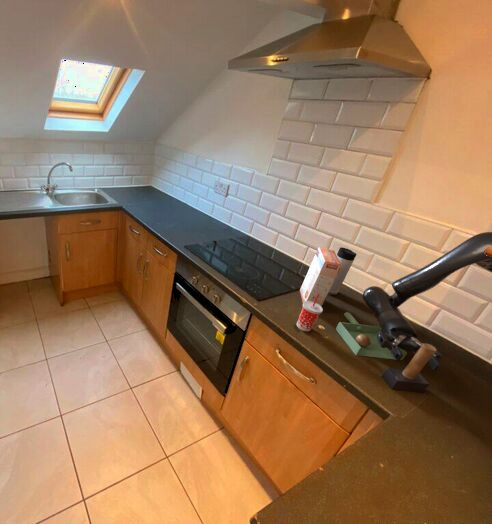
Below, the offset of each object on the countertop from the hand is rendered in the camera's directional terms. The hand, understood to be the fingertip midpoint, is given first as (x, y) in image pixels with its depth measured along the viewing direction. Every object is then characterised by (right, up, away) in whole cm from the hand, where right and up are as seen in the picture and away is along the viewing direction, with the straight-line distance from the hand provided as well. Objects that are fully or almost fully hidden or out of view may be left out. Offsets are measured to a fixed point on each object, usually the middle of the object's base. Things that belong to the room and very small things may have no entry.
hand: (418, 363), depth 82 cm
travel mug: (+5, +15, +47) cm, 50 cm away
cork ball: (-3, +2, +16) cm, 17 cm away
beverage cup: (-19, +5, +23) cm, 30 cm away
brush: (-1, -7, +4) cm, 9 cm away
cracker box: (-8, +12, +38) cm, 41 cm away
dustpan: (0, +2, +22) cm, 22 cm away
